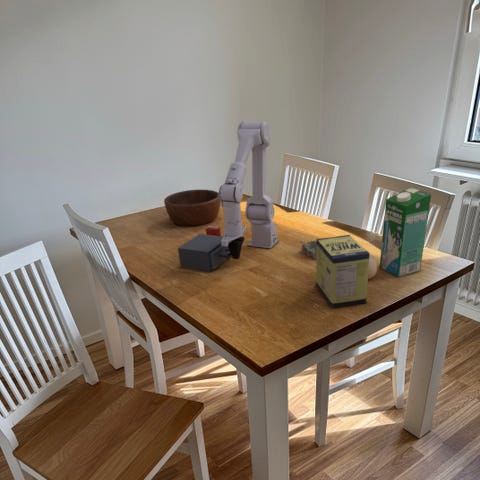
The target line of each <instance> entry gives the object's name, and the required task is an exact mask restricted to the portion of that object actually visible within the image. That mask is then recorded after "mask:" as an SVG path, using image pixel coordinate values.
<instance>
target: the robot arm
mask: <svg viewBox="0 0 480 480" xmlns="http://www.w3.org/2000/svg"><path fill="white" fill-rule="evenodd" d="M236 130H237V131H236V135H237V141H238V146H237V149H236V154H235V158H234V162H232V163H230V165H229V168H228V171H227V173H226V178H225V180H224V183H223V184H221V185H220V187H219V188H218V193H219V195H218V196H219V200H220V207H221V208H222V210H223V221H224V222H223V223H224V231H223V232H222V235H223V236H222V237H223V239H222V240H221V245H222V246H226V247H227V246H228V248H229V250H230V252H231V255H232V256H231V258H232V259H233V260H239V259H240V258H241V251H242V248H243V244H244V242H245V237H244V234H245V233H246V232H247V226H245V225H243V221H242V207H241V202H242V199H243V198H244V185H243V184H244V181H245V178H246V175H247V172H248V168H247V167H246V164H247V162H248V159H249V157H250V155H251V160H252V161H251V171H252V172H251V173H252V175H251V177H252V179H251V180H252V187H251V189H252V195H250V197H248V199H247V200H246V202H245V203H246V204H245V211H244V214H245V218H246V219H247V220H248V222H249V223H250V228H251V241H250V242H249V243H248V244H247V246H248V247H256V248H263V249H264V248H265V249H272V247H274V246H275V245H276V244H277V243H278V242H279V239H278V226H277V225H278V224H277V223H276V222H274V221H273V220H274V218H275V212H276V211H275V205H274V200H273V199H272V198H271V197H270V196H269V195H267V148H268V147H270V144H271V128H270V125H269V124H268V122H267V121H240V122H239V123H238V126H237V129H236Z"/></svg>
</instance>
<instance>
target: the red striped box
mask: <svg viewBox="0 0 480 480" xmlns="http://www.w3.org/2000/svg"><path fill="white" fill-rule="evenodd" d="M205 235H213V236H222V234H221V227H219V226H210V225H208V226H206V228H205Z"/></svg>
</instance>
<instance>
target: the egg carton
mask: <svg viewBox="0 0 480 480" xmlns="http://www.w3.org/2000/svg"><path fill="white" fill-rule="evenodd" d="M299 243H300V244H302V245H301V253H302V254H306V256H308V257H312V259H313V260H316V250H317V239H315V240H311V241H307V243H305V241H301V240H300V241H299Z"/></svg>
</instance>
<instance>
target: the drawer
mask: <svg viewBox="0 0 480 480" xmlns="http://www.w3.org/2000/svg"><path fill="white" fill-rule="evenodd" d="M209 254H210V263H211V269H214V270H215V269H217V268H218V267H219V266H221V265H222V264H223V263H224V262H226V261H227V260H228V259H229V258H231V257H232V255H231V252H230V250H229V248H228V246H227V247H226V246H222V245H220V246H219V247H217V248H216V249H214V250H213V251H212V252H210V253H209Z"/></svg>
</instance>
